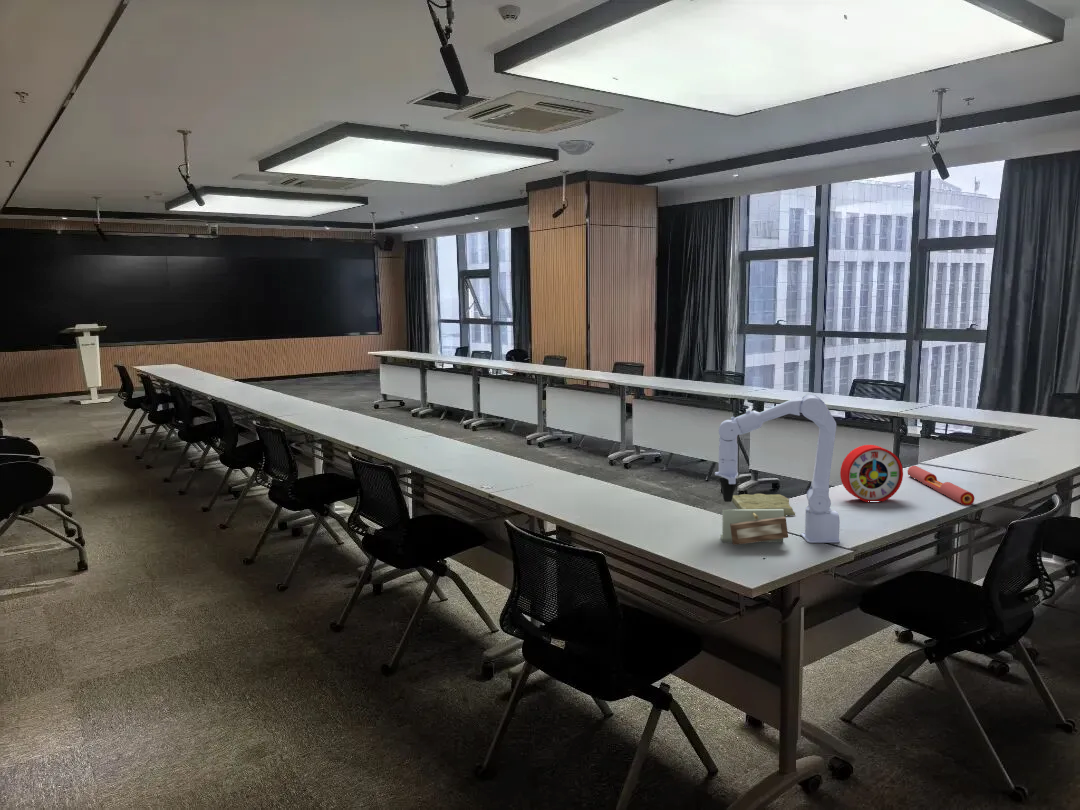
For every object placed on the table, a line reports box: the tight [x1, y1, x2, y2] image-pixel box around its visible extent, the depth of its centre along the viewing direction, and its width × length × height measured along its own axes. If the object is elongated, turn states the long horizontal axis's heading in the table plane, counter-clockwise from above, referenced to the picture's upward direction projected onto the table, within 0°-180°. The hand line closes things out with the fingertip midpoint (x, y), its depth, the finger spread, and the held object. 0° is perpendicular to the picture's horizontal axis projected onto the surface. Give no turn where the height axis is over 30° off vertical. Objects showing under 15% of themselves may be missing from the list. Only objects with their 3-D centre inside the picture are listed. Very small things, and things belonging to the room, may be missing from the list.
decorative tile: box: [731, 493, 796, 517], centre depth 258 cm, size 19×20×4 cm
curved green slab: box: [720, 508, 785, 543], centre depth 222 cm, size 18×8×10 cm, turn 86°
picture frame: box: [730, 516, 789, 546], centre depth 217 cm, size 16×2×6 cm, turn 87°
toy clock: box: [839, 444, 904, 503], centre depth 264 cm, size 20×6×20 cm, turn 91°
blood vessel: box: [907, 465, 975, 506], centre depth 277 cm, size 42×5×5 cm, turn 177°
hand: (727, 501), depth 231 cm, fingers closed
